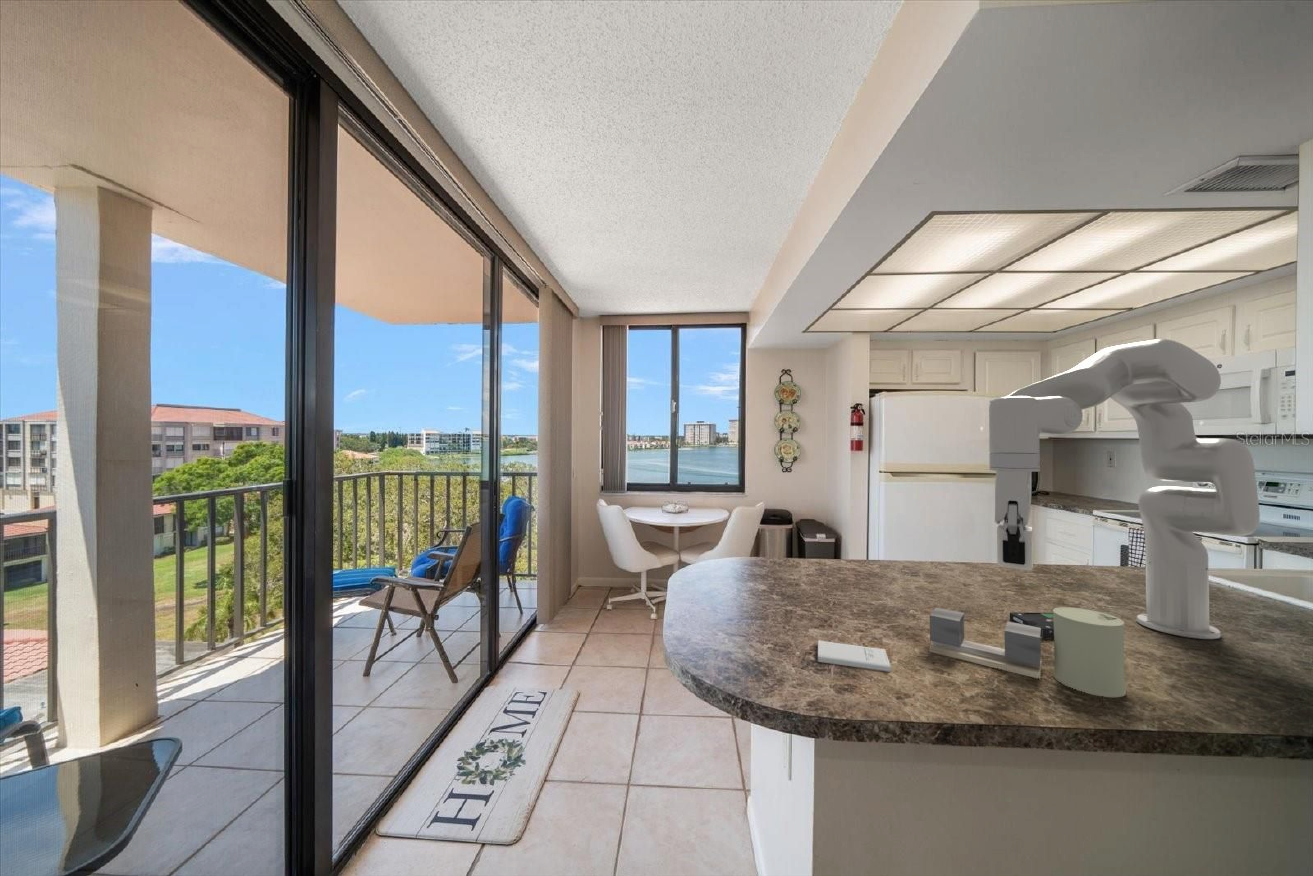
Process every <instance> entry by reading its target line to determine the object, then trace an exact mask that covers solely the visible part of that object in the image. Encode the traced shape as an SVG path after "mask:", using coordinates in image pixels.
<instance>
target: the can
mask: <svg viewBox="0 0 1313 876" xmlns="http://www.w3.org/2000/svg"><path fill="white" fill-rule="evenodd" d="M1052 613H1053V616H1054V639H1053V640H1054V642H1053V644H1054V645H1053V647H1054V648H1053V649H1054V650H1053V654H1054V656H1053V657H1054V660H1053V661H1054V663H1053V678H1054V679H1055V680H1056V681H1057V682H1059V683H1060V682H1061V683H1060V684H1062V685H1064V686H1066V687H1067V688H1070V687H1071V688H1070V689H1072V688H1073V689H1072V690H1075V689H1076V690H1075V691H1078V692H1081V691H1082V692H1081V693H1084V692H1085V693H1084V694H1088V695H1093V696H1097V697H1102V696H1103V698H1115V699H1116V698H1122V697H1125V696H1126V694H1127V690H1126V684H1125V683H1126V682H1125V626H1126V625H1125V624H1126V623H1125V621H1124V620H1122V619H1121V618H1119V617H1117V616H1116V615H1115V616H1114V615H1112V614H1109V613H1105V612H1102V611H1097V610H1093V609H1088V608H1082V607H1081V608H1080V607H1072V606H1071V607H1069V606H1062V607H1061V606H1060V607H1055V608H1053V609H1052Z"/></svg>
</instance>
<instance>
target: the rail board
mask: <svg viewBox="0 0 1313 876" xmlns="http://www.w3.org/2000/svg"><path fill="white" fill-rule="evenodd" d="M1005 624H1006V625H1005V628H1004V648H1001V647H997V646H993V645H992V646H991V645H988V644H984V643H983V644H982V643H979V642H974V641H970V640H965V612H961V611H955V610H950V609H946V608H940V607H935V608H934V609H933V610H932V612H931V613H930V614H929V641H931V643H930V645H929V653H934V654H937V655H942V656H946V657H948V658H953V659H958V660H961V661H966V662H971V663H973V664H978V665H981V666H985V667H989V668H994V669H997V668H998V670H1001V669H1002V671H1005V672H1006V671H1007V672H1010V673H1014V674H1018V675H1023V676H1026V677H1031V678H1034V679H1038V678H1039V680H1041V674H1042V673H1041V672H1042V638H1041V628H1039V627H1034V626H1029V625H1024V624H1018V623H1013V622H1010V621H1007V622H1006V623H1005Z"/></svg>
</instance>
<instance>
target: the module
mask: <svg viewBox="0 0 1313 876" xmlns="http://www.w3.org/2000/svg"><path fill="white" fill-rule="evenodd" d="M1023 527H1024V528H1023V542H1025V564H1024V565H1020V564H1013V563H1005V562H1004V561H1003V540H1004V523H1003V524H1001V523H999V524H998V526H997V528H996V533H997V537H996V540H997V541H996V545H997V549H996V550H997V552H996V553H997V560H996V561H997V567H1002V568H1009V569H1015V570H1021V571H1022V570H1023V571H1031V572H1032V571H1033V567H1034V563H1033V562H1034V559H1033V557H1034V555H1033V554H1034V553H1033V552H1034V551H1033V548H1034V545H1033V541H1034V539H1033V537H1034V536H1033V526H1027V525H1026V526H1023Z"/></svg>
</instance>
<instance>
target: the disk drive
mask: <svg viewBox="0 0 1313 876" xmlns="http://www.w3.org/2000/svg"><path fill="white" fill-rule="evenodd" d="M1009 622H1013V623H1018V624H1024V625H1029V626H1034V627H1039V628H1041V637H1042V638H1053V639H1052V640H1054V616H1053V612H1022V611H1018V612H1016V611H1014V612H1013V611H1012V612H1011V611H1010V612H1009ZM1042 638H1041V639H1042Z"/></svg>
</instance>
